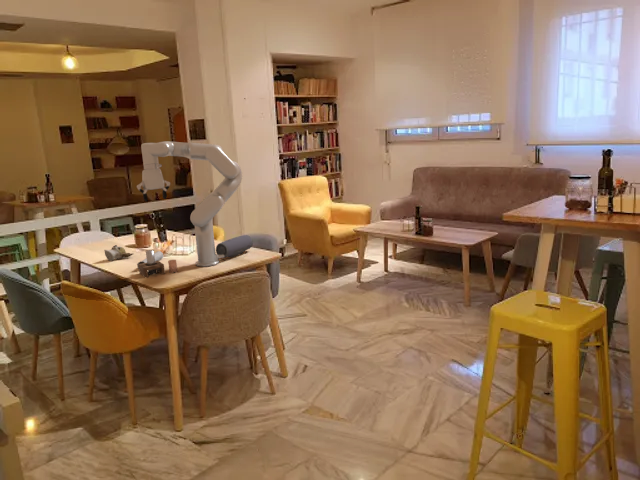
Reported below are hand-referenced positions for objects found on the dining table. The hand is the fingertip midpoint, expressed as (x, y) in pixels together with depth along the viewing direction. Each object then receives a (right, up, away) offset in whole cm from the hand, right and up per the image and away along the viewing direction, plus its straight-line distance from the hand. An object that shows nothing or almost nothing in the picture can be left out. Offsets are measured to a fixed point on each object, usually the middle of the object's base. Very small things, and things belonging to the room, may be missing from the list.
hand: (155, 200), depth 266 cm
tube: (-7, -35, +15) cm, 39 cm away
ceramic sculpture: (-31, -32, +30) cm, 54 cm away
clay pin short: (+10, -37, -3) cm, 39 cm away
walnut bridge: (0, -38, -4) cm, 38 cm away
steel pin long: (0, -38, -4) cm, 38 cm away
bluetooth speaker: (+38, -30, +24) cm, 54 cm away
